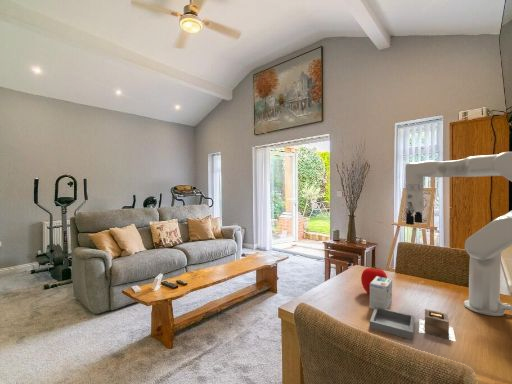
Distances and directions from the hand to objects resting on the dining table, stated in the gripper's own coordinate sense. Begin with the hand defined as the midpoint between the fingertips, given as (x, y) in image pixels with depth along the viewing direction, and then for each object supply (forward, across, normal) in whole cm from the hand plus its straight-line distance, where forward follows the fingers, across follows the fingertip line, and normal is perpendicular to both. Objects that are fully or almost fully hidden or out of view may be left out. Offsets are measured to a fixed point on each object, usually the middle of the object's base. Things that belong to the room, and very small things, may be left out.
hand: (414, 223), depth 126 cm
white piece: (+33, -34, -20) cm, 51 cm away
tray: (+32, -43, -9) cm, 55 cm away
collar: (+32, -34, -20) cm, 51 cm away
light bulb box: (+33, -29, +2) cm, 44 cm away
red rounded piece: (+32, -21, +9) cm, 40 cm away
